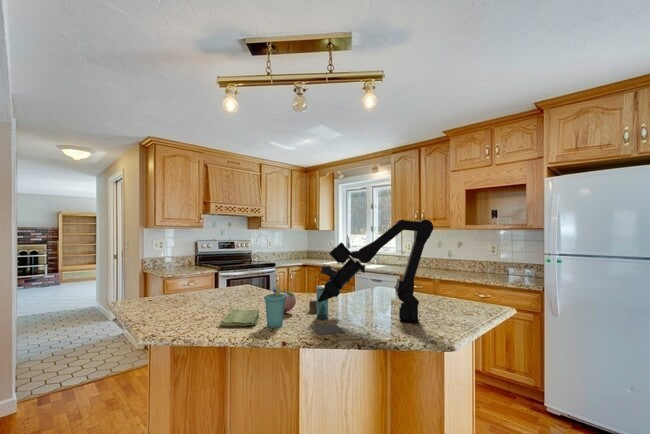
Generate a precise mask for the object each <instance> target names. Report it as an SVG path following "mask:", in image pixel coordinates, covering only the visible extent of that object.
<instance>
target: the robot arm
mask: <svg viewBox="0 0 650 434" xmlns="http://www.w3.org/2000/svg"><path fill="white" fill-rule="evenodd" d="M403 231H412V232H414V233H413V244H412V246H411V248H410V249H411V250H410V252H409V256H408V260H407V263H406V267H405V269H404V272H403V273H404V274H403V275H402V277H401V279H400V278H397V279H396V284H395V286H394V290H395V295H396V296H397V298H398V299H399V301H401V303H400V306H399V308H398V310H399V314H398V316H399V317H398V318H399V320H400V323H410V324H419V304H420V300H418V299H417V297H416V296H415V294H414V292H415V291H414V290H415V278H416V274H417V271H418V267H419V264H420V261H421V258H422V254H423V250H424V247H425V245H426V243H427V242H428V240H429V239H430V237H431V235H432V233H433V231H434V223H433V222H432V221H431V220H429V219H420V220H418V221H416V220H415V221H414V220H405V219H399V220H397V221H396V222H395V224H393V225H392V226H391V227H390V228H388V229H387V230H386V231H384V233H382V234H381V235H380V236H378V237H377V238H376V239H375V240H373V241H372V242H369V243H368V244H366V245H364V246H362V247H361V248H359V249H358V250H355V251H354V250H352V251H350V250H349V249H348V248H347V246H345V244H344V243H343V242H342V241H341V242H339V244H338V245H337V246H335V247H334V248H333V249H331V251H330V252H329V253H328V255H329V256H330V257H331V258H332V259H333V260H335V262H336V263H338V265H339V264H343V266H341V268H338V269H335V268H334V267H332V266H331V265H327V264H323V265H322V268H321V270H320V274H322V275H325V276H327V277H328V280H326V283H324V286H325V290H324V292H323V293H322V294H321V296H320V297H319V299H318V300H317V301H318V302H322V301H324V300H327V299H328V300H329V299H331V298H337V297H338V296H339V295H340V294H341V290H342V289H343V288H344V287H345V285H347V284H348V283H349V282H350V281H351V279H353V277H355V275H357V274H358V273H359V272H360V271H361V272H362V273H364V274H365V272H366V265H365V264H367V263H368V264H369V262H371V261H372V260H373V258H374V257H375V256H376V255H377V254H378V252H379V251H380V250H381V249H382V248H383V247H384V246H385V245H387V244H389V242H390V241H392V240H393V239H394V238H395V237H397V236H398V235H399V234H400V233H402V232H403ZM361 263H363V264H361Z"/></svg>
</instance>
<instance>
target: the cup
mask: <svg viewBox="0 0 650 434" xmlns="http://www.w3.org/2000/svg"><path fill="white" fill-rule="evenodd" d="M272 289H273V293H272V294H270V293H268V294H265V296H264V295H263V296H264V300H265V313H266V314H265V315H266V326H267V327H268V328H269V327H271V329H277V328H276V327H278V328H281V327H283V320H284V314H285V313H284V303H285V299H286V296H285V295H283V294H280V291H281V287H280V285H279V284H278V283H277V284H276V285H275V286H273V288H272Z"/></svg>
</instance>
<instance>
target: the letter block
mask: <svg viewBox="0 0 650 434" xmlns="http://www.w3.org/2000/svg"><path fill="white" fill-rule="evenodd" d="M309 313H317V298H311V299H310V300H309Z"/></svg>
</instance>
